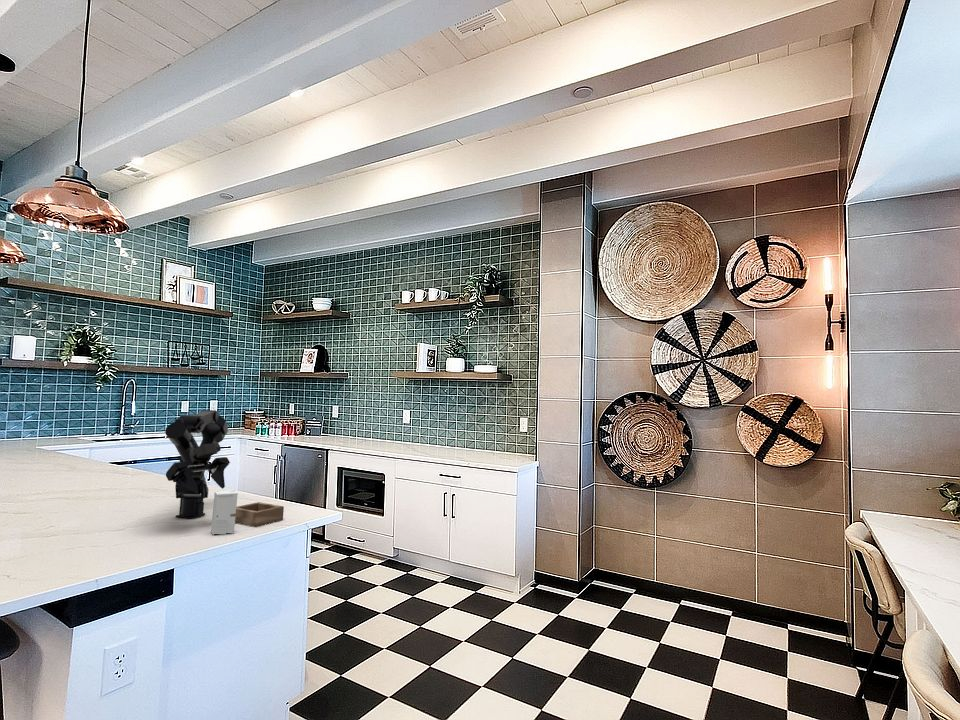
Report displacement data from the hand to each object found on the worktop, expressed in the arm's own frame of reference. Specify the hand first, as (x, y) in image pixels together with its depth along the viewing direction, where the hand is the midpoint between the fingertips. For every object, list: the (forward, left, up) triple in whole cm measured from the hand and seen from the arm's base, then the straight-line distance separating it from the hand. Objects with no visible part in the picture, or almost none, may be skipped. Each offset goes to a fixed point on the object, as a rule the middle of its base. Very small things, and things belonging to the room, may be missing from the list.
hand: (210, 489), depth 166 cm
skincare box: (+6, -1, -12) cm, 14 cm away
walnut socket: (+7, +15, -12) cm, 20 cm away
